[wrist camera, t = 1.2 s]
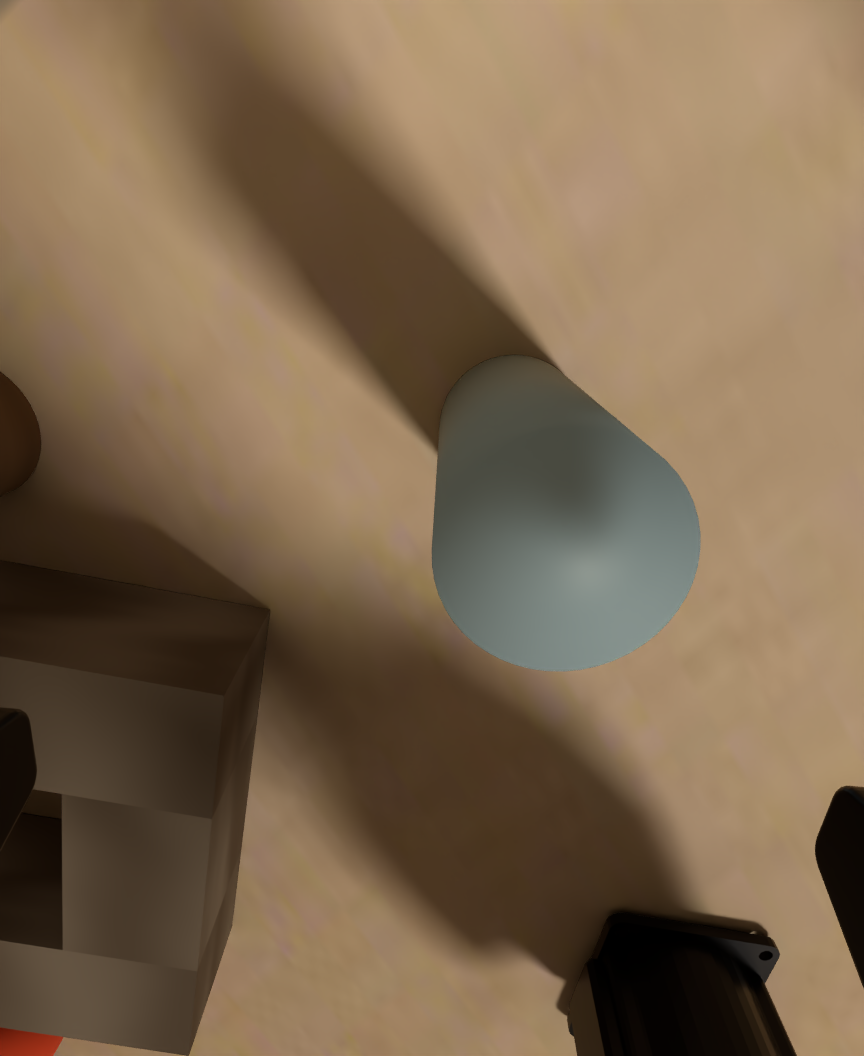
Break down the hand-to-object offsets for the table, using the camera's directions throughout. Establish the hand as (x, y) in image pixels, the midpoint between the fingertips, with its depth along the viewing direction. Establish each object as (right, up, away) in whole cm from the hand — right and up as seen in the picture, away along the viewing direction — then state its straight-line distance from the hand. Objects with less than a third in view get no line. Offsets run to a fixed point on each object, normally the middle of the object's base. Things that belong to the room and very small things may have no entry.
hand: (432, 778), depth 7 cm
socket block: (-13, -5, +15) cm, 21 cm away
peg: (+2, +6, +11) cm, 13 cm away
